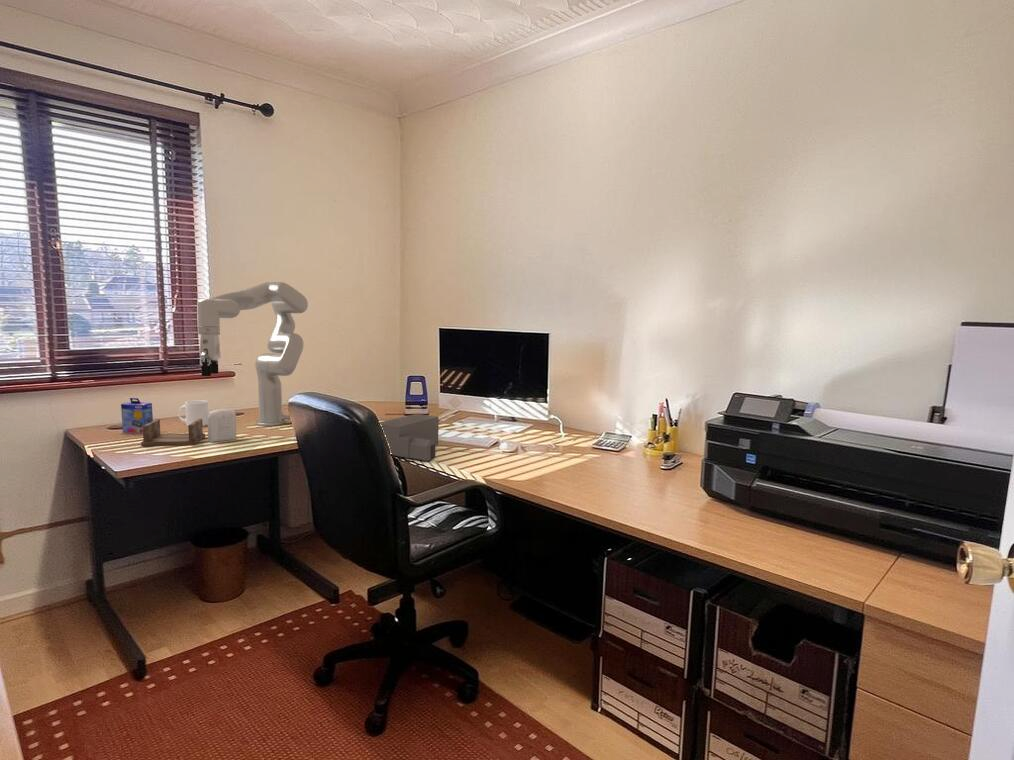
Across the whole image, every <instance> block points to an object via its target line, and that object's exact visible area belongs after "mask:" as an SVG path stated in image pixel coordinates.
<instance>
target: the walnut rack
mask: <svg viewBox="0 0 1014 760" xmlns="http://www.w3.org/2000/svg"><path fill="white" fill-rule="evenodd" d="M187 427H188V433H161V420H160V419H157V418H155V419H153V421H152V422H150V423H148V424H146V425H144V426H143V435H142V439H143V440H142V441H141V442H140V446H141V447H163V446H167V447H168V446H195V445H197V444H198V443H199V442H200V441H202V440H203V439H204V438H205V437H206V433H205V432H204V431H203V430H204V429H203V428H204V426H202V419H198V420H196V421H194V422H193V423H191V424H190V425H188V426H187Z"/></svg>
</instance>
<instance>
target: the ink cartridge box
mask: <svg viewBox="0 0 1014 760" xmlns="http://www.w3.org/2000/svg"><path fill="white" fill-rule="evenodd" d="M120 407H121V408H120V409H121V410H120V411H121V423H122V425H121V427H122V428H121V429H122V433H124V434H143V426H144V425H146V424H148V423H150V422H152V421H154V418H153V417H154V416H153V403H152V402H141V401H140V399H139V398H137V397H136V398H135V397H129V402H123V403H121V404H120Z"/></svg>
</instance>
